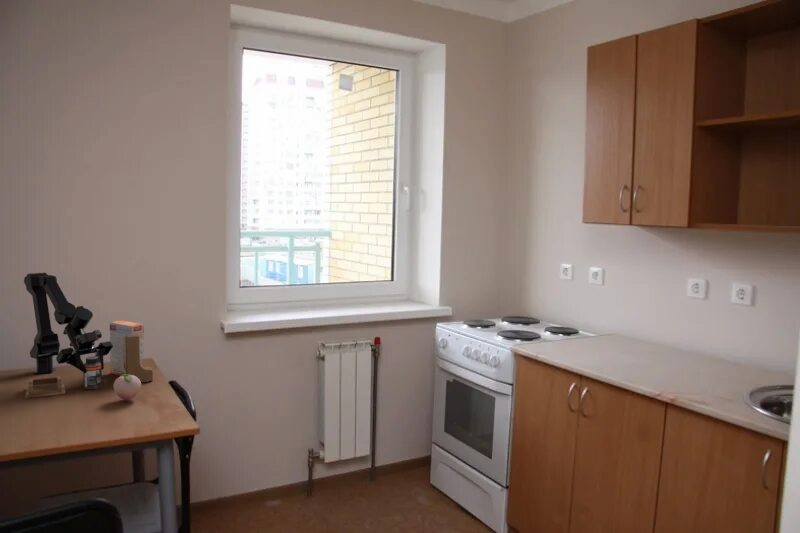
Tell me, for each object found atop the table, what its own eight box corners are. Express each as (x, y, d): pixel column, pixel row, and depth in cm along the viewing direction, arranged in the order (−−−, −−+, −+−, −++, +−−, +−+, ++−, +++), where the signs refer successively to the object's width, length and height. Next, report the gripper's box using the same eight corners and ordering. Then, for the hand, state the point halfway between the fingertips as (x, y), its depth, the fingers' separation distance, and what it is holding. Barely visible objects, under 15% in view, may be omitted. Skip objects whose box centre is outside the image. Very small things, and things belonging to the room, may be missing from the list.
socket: (26, 389, 220) (25, 379, 220) (64, 384, 226) (63, 375, 226) (25, 398, 210) (25, 388, 209) (65, 393, 216) (65, 383, 215)
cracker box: (145, 376, 240) (144, 323, 238) (131, 379, 235) (130, 326, 233) (123, 370, 247) (122, 319, 246) (109, 373, 242) (108, 321, 240)
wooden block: (151, 378, 237) (151, 332, 235) (152, 381, 233) (152, 335, 232) (126, 381, 233) (125, 334, 231) (127, 384, 229) (126, 336, 227)
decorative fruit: (146, 401, 210) (145, 372, 209) (121, 406, 204) (121, 377, 203) (134, 395, 216) (133, 367, 215) (110, 400, 210) (109, 371, 209)
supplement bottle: (87, 385, 226) (87, 355, 225) (104, 385, 227) (103, 355, 226) (80, 390, 220) (80, 359, 219) (97, 390, 221) (97, 359, 220)
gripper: (59, 327, 216) (76, 362, 211) (109, 320, 231) (127, 353, 226) (48, 345, 221) (65, 381, 216) (98, 337, 236) (115, 370, 231)
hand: (94, 370), depth 222 cm, fingers closed on supplement bottle, 6 cm apart
